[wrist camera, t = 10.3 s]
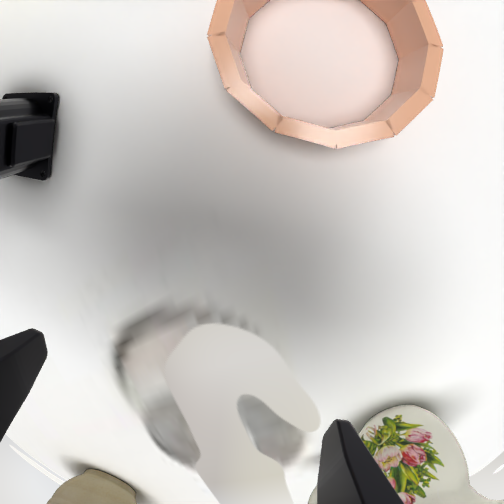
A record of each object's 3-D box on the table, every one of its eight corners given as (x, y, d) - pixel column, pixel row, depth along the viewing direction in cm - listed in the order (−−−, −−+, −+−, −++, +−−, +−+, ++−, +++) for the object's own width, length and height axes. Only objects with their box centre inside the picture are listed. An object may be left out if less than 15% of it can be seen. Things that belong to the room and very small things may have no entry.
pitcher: (280, 436, 28) (269, 562, 15) (454, 355, 22) (514, 486, 9) (331, 474, 30) (332, 573, 18) (472, 411, 25) (510, 511, 12)
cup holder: (211, 116, 17) (188, 114, 13) (251, -36, 13) (241, -71, 9) (386, 163, 17) (413, 175, 13) (420, 11, 13) (450, -12, 9)
